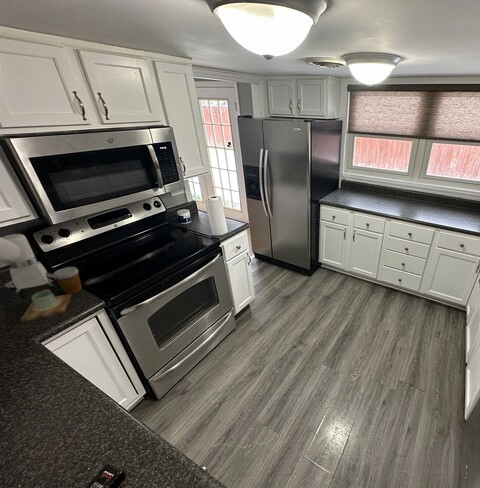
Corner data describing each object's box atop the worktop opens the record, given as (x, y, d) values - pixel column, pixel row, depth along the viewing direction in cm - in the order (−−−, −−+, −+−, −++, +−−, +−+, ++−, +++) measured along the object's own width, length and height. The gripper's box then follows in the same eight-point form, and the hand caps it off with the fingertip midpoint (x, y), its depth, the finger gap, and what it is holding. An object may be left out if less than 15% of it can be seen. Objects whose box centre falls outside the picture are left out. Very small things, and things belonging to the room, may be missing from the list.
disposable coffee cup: (65, 298, 131) (55, 278, 126) (59, 292, 136) (49, 272, 131) (89, 289, 139) (80, 270, 133) (82, 283, 143) (73, 264, 138)
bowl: (57, 308, 122) (52, 297, 120) (29, 314, 118) (22, 303, 115) (63, 296, 130) (58, 286, 127) (37, 302, 126) (31, 291, 123)
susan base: (22, 321, 116) (20, 319, 115) (33, 304, 127) (32, 301, 126) (64, 312, 123) (62, 309, 122) (71, 295, 133) (70, 293, 133)
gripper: (-10, 270, 107) (9, 304, 114) (48, 261, 115) (62, 294, 122) (-1, 262, 113) (17, 295, 120) (53, 254, 121) (67, 286, 128)
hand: (40, 295), depth 121 cm, fingers open, 9 cm apart
